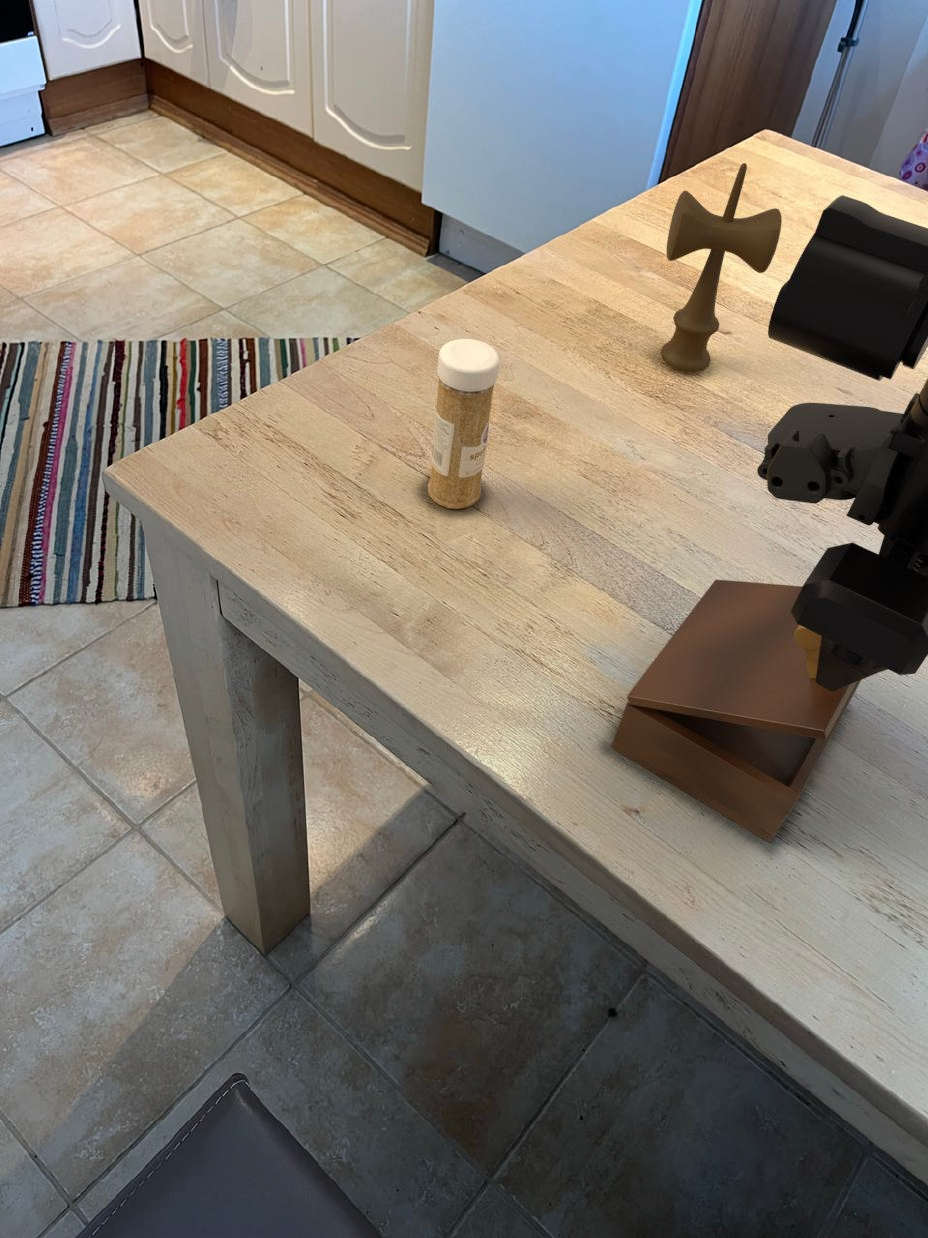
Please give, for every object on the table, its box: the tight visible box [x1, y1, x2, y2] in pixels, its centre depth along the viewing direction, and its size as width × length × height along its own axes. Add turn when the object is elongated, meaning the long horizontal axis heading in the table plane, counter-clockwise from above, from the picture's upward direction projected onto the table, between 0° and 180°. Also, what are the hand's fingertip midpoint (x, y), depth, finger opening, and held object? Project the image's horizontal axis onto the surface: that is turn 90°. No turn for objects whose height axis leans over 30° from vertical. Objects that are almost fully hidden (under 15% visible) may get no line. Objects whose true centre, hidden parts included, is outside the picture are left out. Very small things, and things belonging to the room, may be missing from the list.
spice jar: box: [427, 338, 500, 510], centre depth 75 cm, size 5×5×13 cm
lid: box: [626, 579, 856, 740], centre depth 59 cm, size 12×14×4 cm
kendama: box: [660, 162, 783, 373], centre depth 90 cm, size 6×10×20 cm, turn 81°
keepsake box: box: [610, 680, 862, 843], centre depth 64 cm, size 12×14×5 cm
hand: (852, 637), depth 55 cm, fingers open, 9 cm apart
